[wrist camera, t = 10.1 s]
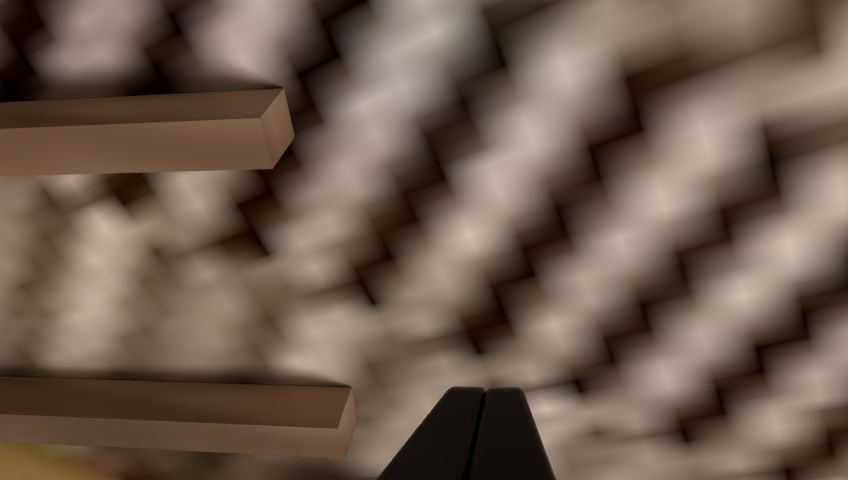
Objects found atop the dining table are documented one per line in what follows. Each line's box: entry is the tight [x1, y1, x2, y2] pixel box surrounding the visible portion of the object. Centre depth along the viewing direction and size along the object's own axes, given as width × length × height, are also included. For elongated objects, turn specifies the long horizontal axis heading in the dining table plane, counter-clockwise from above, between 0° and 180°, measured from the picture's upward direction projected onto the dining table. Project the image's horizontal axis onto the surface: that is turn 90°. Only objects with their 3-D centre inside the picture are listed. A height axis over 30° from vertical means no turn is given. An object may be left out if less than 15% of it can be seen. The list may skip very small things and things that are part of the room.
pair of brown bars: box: [0, 88, 358, 459], centre depth 26 cm, size 13×16×2 cm
